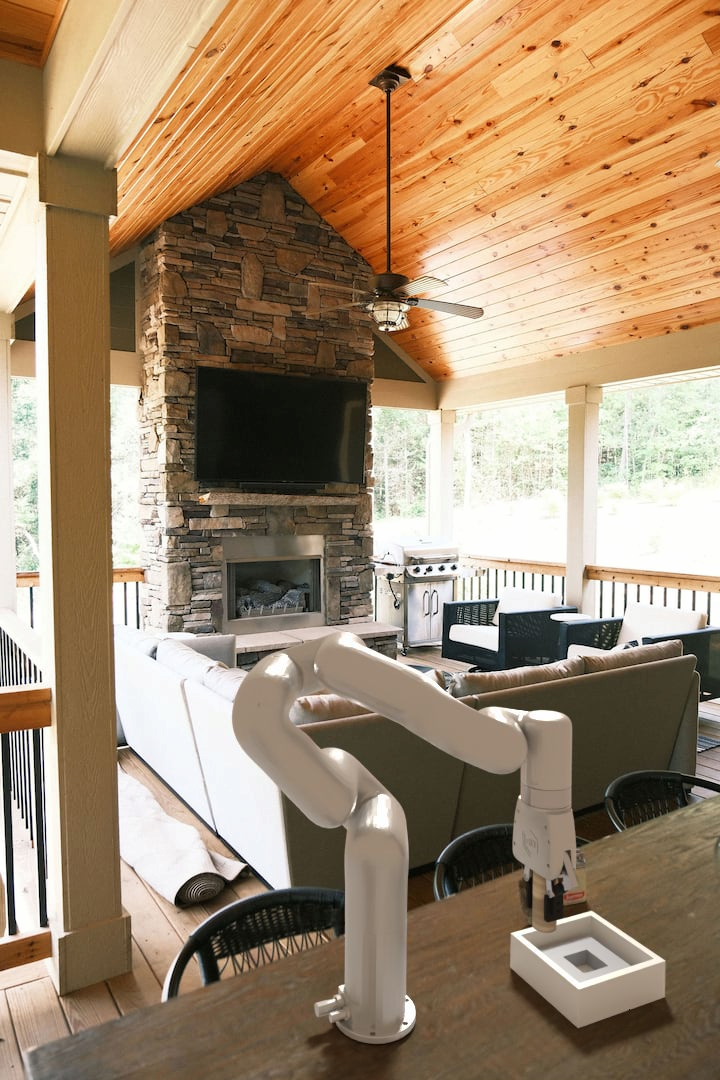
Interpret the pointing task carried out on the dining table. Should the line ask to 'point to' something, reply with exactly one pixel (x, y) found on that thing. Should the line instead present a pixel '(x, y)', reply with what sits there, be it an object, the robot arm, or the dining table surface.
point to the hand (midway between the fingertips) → (544, 911)
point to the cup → (524, 900)
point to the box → (588, 968)
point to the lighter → (580, 874)
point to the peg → (540, 905)
